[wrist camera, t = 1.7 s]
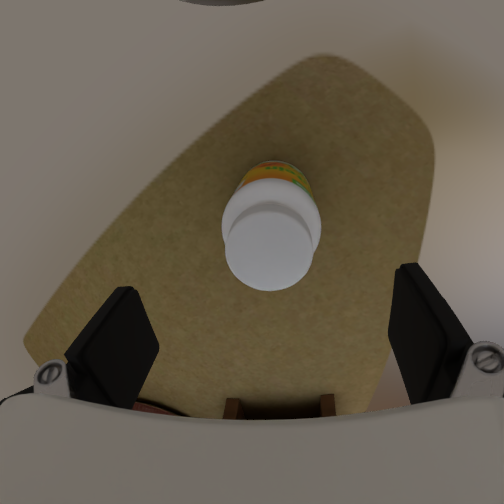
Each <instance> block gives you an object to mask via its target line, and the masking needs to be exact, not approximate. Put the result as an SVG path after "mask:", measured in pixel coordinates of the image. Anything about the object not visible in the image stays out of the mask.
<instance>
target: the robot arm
mask: <svg viewBox="0 0 504 504" xmlns="http://www.w3.org/2000/svg"><path fill="white" fill-rule="evenodd" d="M388 337H389V341H390V344H391V346H392V349H393V352H394V354H395V357H396V360H397V363H398V366H399V369H400V372H401V375H402V378H403V381H404V384H405V387H406V390H407V393H408V396H409V400H410V403H411V405H408V406H403V407H397V408H392V409H385V410H379V411H372V412H364V413H357V414H349V415H341V416H331V417H320V418H306V419H286V420H227V419H207V418H193V417H182V416H172V415H163V414H155V413H148V412H141V411H134V410H132V408H133V406H134V404H135V401H136V399H137V397H138V395H139V393H140V390H141V388H142V386H143V384H144V382H145V380H146V377H147V375H148V373H149V371H150V369H151V367H152V365H153V362H154V360H155V358H156V356H157V354H158V352H159V343H158V340H157V338H156V336H155V333H154V331H153V329H152V326H151V324H150V321H149V319H148V316H147V314H146V311H145V309H144V306H143V303H142V301H141V298H140V296H139V293H138V291H137V290H134V288H133V287H131V286H125V287H117V288H116V289H115V290H114V292H113V293H112V294H111V295H110V296H109V298H108V299H107V300H106V301H105V303H104V304H103V305H102V306H101V307H100V309H99V310H98V311H97V312H96V314H95V315H94V316H93V317H92V319H91V320H90V321H89V322H88V324H87V325H86V326H85V327H84V329H83V330H82V331H81V333H80V334H79V335H78V336H77V338H76V339H75V340H74V342H73V343H72V344H71V346H70V347H69V348H68V350H67V351H66V352H65V354H64V355H65V357H66V359H67V360H68V363H67V364H65V362H63V361H62V360H59V359H53V360H50V361H48V362H46V363H44V364H43V365H42V366H40V367H39V369H38V370H37V371H36V373H35V375H34V385H33V386H31V387H29V388H27V389H24V390H23V391H20V392H18V393H16V394H14V395H11V396H9V397H8V398H4V399H3V400H1V401H0V504H504V349H503V348H502V347H500V346H499V345H498V344H495V343H493V342H489V341H480V342H477V343H475V344H474V343H473V342H472V340H471V339H470V337H469V335H468V334H467V332H466V330H465V329H464V327H463V326H462V324H461V323H460V321H459V319H458V318H457V317H456V315H455V314H454V312H453V310H452V309H451V308H450V306H449V305H448V303H447V302H446V300H445V299H444V298H443V297H442V296H441V294H440V293H439V291H438V290H437V289H436V287H435V286H434V284H433V283H432V282H431V280H430V279H429V278H428V276H427V275H426V274H425V272H424V271H423V270H422V268H421V267H420V266H419V264H418V263H407V264H401V266H400V269H396V271H395V279H394V289H393V297H392V306H391V313H390V320H389V327H388Z"/></svg>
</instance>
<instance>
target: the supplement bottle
mask: <svg viewBox="0 0 504 504" xmlns="http://www.w3.org/2000/svg"><path fill="white" fill-rule="evenodd" d="M222 235H223V240H224V243H225V255H226V260H227V263H228V265H229V268H230V269H231V271H232V272H233V274H234V275H235V276H236V277H237V278H238V279H239V280H240V281H242V282H243V283H244V284H246V285H248V286H250V287H252V288H255V289H259V290H264V291H276V290H281V289H285V288H287V287H290V286H292V285H294V284H295V283H297V282H298V281H299V280H300V279H301V278H302V277H303V276H304V275H305V274H306V273H307V271H308V269H309V267H310V265H311V262H312V258H313V253H314V252H315V250H316V248H317V246H318V243H319V240H320V235H321V220H320V215H319V211H318V208H317V206H316V203H315V200H314V197H313V194H312V191H311V188H310V185H309V183H308V181H307V179H306V177H305V176H304V175H303V173H302V172H301V171H300V170H298V169H297V168H296V167H294V166H293V165H291V164H289V163H286V162H282V161H266V162H262V163H260V164H258V165H256V166H254V167H253V168H251V169H250V170H249V171H248V172H247V173H246V175H245V176H244V177H243V179H242V180H241V182H240V184H239V185H238V187H237V189H236V190H235V192H234V194H233V195H232V197H231V198H230V200H229V202H228V203H227V206H226V208H225V210H224V213H223V218H222Z"/></svg>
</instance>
